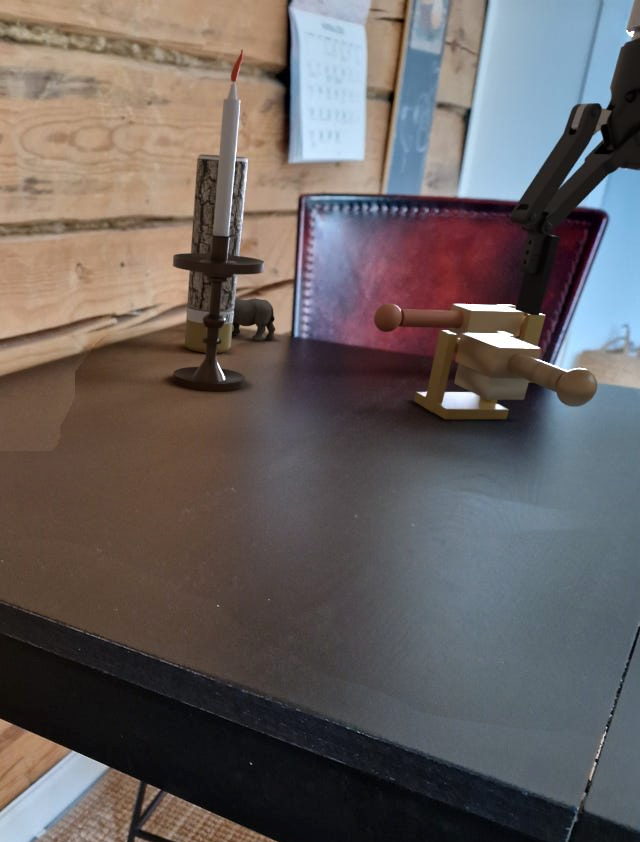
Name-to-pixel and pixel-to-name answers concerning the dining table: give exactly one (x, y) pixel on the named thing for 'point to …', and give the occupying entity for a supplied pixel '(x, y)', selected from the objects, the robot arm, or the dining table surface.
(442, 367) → the bracket near
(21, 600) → the dining table surface
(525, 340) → the bracket far
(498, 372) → the brush near
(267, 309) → the rhino figurine
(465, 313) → the brush far
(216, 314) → the candlestick
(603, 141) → the robot arm
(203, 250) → the paper tube
